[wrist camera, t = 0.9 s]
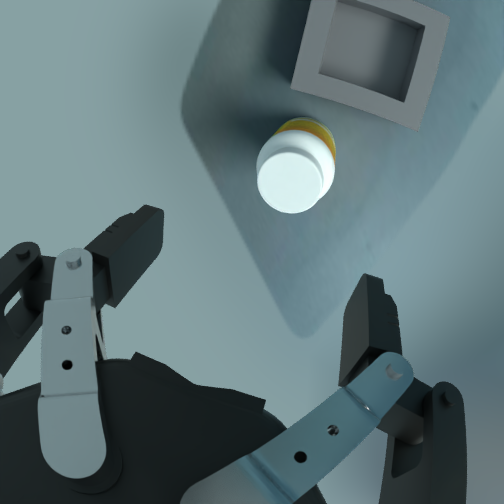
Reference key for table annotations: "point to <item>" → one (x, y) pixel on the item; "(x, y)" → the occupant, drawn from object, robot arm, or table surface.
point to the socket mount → (372, 56)
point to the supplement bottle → (296, 165)
